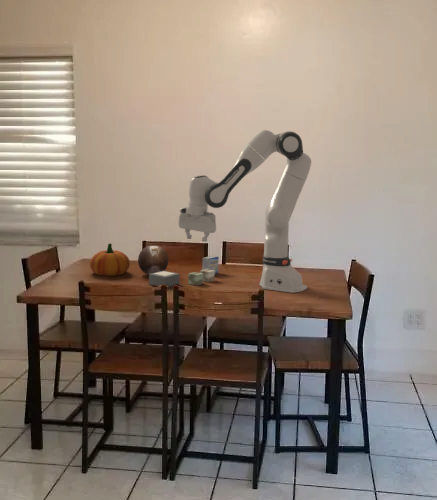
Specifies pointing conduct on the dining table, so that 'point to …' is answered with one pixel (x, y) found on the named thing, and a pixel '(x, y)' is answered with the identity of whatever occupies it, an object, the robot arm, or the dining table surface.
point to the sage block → (195, 278)
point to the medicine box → (210, 263)
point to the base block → (164, 278)
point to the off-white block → (208, 275)
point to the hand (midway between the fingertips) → (196, 240)
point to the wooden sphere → (153, 259)
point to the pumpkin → (109, 262)
